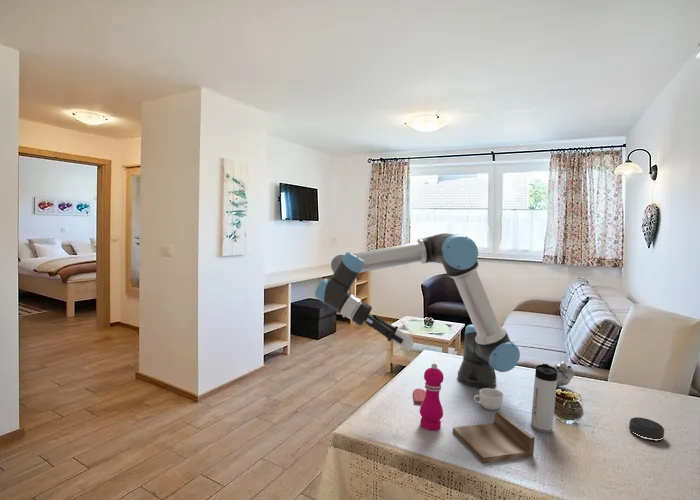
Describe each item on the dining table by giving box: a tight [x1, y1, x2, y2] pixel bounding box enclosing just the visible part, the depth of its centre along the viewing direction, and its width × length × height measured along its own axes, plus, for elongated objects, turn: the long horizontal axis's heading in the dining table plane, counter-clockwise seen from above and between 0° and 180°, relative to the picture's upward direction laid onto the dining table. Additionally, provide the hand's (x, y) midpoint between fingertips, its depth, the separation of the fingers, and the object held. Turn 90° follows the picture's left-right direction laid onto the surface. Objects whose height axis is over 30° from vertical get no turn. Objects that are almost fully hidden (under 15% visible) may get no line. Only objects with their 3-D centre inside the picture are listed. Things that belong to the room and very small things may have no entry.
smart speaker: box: [628, 416, 665, 439], centre depth 129 cm, size 9×9×4 cm
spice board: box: [452, 410, 536, 464], centre depth 119 cm, size 16×16×6 cm
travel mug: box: [530, 363, 557, 434], centre depth 129 cm, size 6×7×20 cm
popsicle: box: [412, 388, 426, 405], centre depth 146 cm, size 5×2×15 cm
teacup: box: [473, 387, 504, 411], centre depth 142 cm, size 10×8×5 cm
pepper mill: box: [419, 363, 444, 431], centre depth 127 cm, size 7×7×20 cm
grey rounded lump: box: [553, 361, 575, 387], centre depth 163 cm, size 10×10×12 cm
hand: (411, 345), depth 133 cm, fingers open, 13 cm apart
